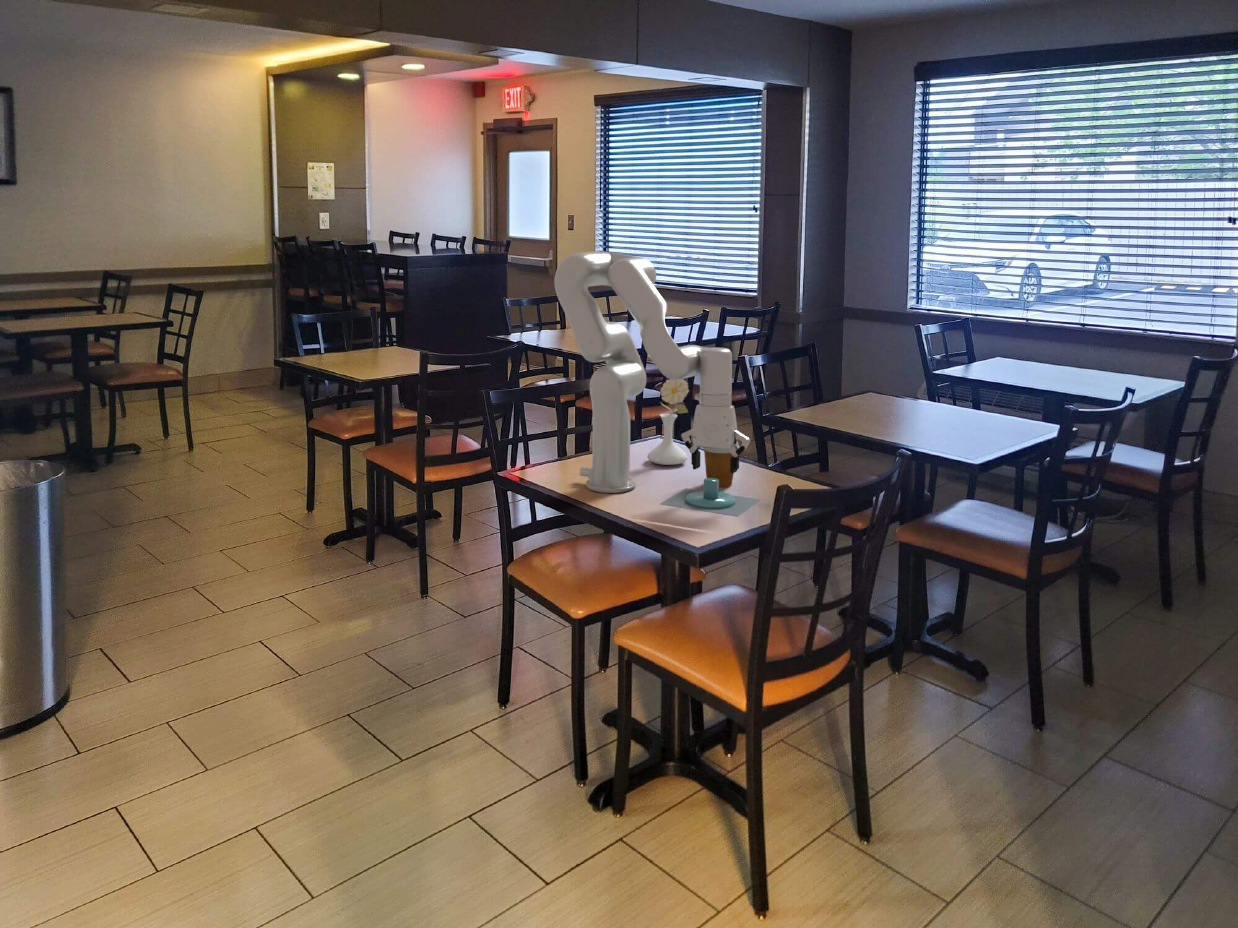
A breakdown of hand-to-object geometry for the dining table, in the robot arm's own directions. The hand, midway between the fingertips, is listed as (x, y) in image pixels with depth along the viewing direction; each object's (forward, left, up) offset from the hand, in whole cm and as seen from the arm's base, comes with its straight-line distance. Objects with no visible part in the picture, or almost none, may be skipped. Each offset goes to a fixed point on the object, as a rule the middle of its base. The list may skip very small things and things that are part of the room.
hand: (715, 470), depth 240 cm
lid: (-1, 0, -8) cm, 8 cm away
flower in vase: (-26, +31, -9) cm, 41 cm away
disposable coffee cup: (-5, +16, -9) cm, 19 cm away
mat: (-1, 0, -9) cm, 9 cm away
